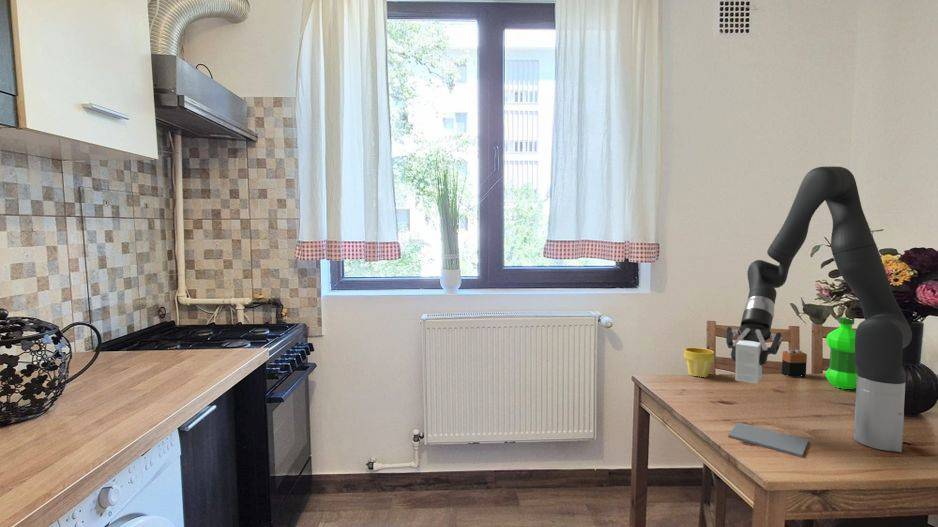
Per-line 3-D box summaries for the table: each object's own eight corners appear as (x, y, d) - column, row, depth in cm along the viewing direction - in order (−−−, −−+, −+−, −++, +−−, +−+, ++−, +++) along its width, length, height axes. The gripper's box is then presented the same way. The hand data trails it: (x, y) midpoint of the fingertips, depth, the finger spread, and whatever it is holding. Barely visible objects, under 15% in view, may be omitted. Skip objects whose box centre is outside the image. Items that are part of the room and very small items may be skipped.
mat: (808, 442, 116) (808, 439, 116) (802, 457, 109) (802, 454, 108) (738, 424, 127) (738, 422, 127) (728, 436, 120) (728, 434, 120)
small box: (739, 373, 132) (740, 338, 131) (762, 377, 128) (762, 341, 128) (734, 380, 126) (735, 343, 125) (758, 384, 122) (758, 346, 122)
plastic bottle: (826, 381, 166) (829, 314, 165) (863, 387, 159) (867, 318, 157) (821, 387, 159) (825, 318, 158) (861, 394, 152) (864, 322, 150)
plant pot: (702, 370, 179) (702, 346, 178) (719, 378, 169) (720, 353, 168) (677, 371, 178) (678, 347, 177) (694, 379, 168) (694, 354, 167)
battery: (806, 377, 171) (807, 351, 170) (789, 377, 170) (790, 351, 170) (797, 373, 175) (798, 348, 175) (780, 374, 175) (782, 348, 174)
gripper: (728, 304, 136) (716, 350, 128) (785, 309, 126) (776, 358, 118) (733, 319, 140) (721, 364, 132) (788, 325, 130) (779, 374, 122)
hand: (747, 361), depth 125 cm, fingers closed on small box, 6 cm apart
